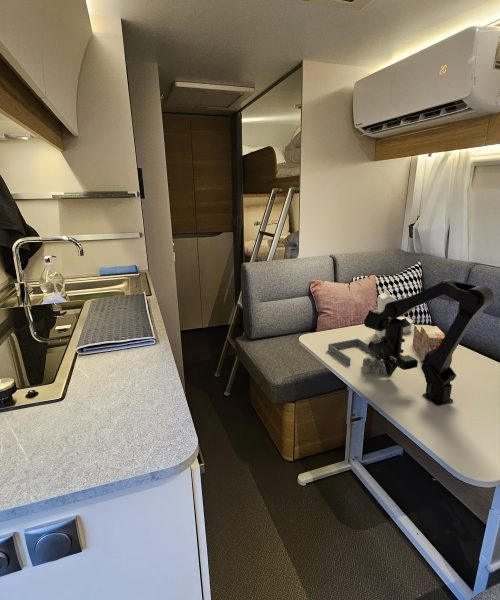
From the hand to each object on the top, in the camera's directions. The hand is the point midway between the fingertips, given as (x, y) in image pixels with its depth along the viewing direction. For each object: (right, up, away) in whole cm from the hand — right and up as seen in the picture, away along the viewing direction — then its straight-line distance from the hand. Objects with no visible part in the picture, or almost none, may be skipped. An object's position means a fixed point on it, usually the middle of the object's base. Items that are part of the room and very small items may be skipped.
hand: (389, 375), depth 124 cm
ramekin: (+23, +12, +44) cm, 51 cm away
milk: (+13, +10, +38) cm, 41 cm away
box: (-7, +4, +19) cm, 21 cm away
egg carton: (-2, 0, +7) cm, 7 cm away
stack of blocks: (+22, +4, +18) cm, 29 cm away
